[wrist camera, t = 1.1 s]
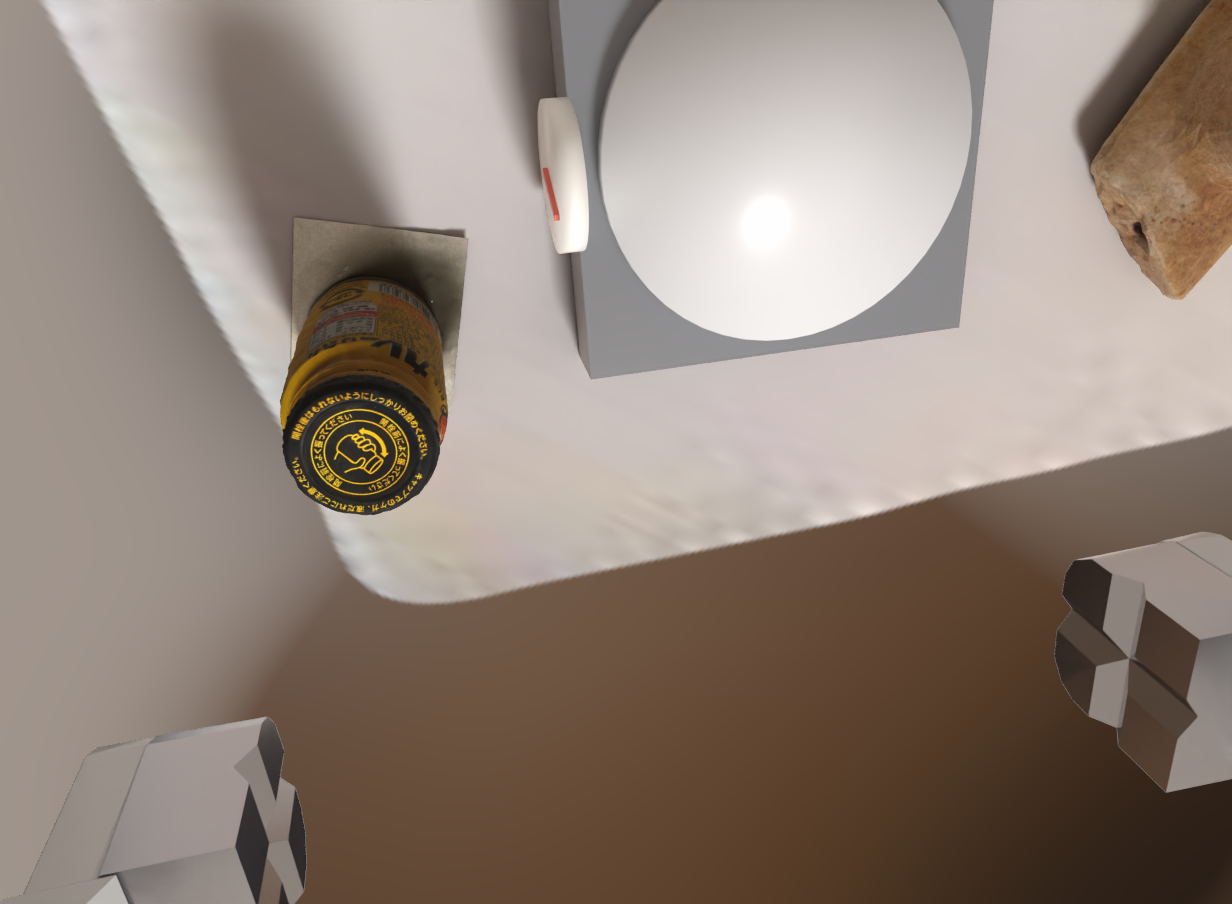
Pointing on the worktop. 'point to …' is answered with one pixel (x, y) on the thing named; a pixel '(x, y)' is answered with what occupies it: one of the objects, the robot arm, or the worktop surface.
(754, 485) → the worktop surface
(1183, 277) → the stone cup
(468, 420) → the worktop surface
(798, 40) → the scale
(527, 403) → the worktop surface
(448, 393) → the condiment
